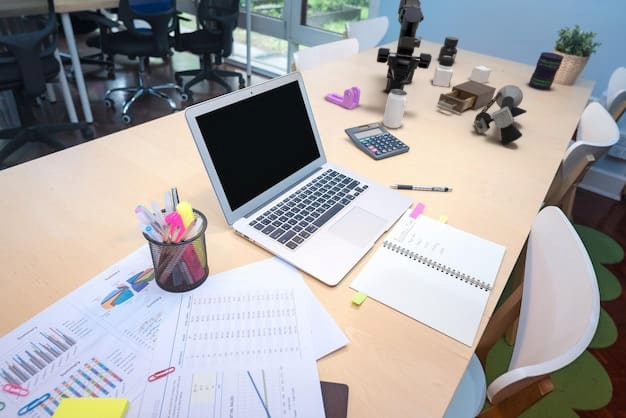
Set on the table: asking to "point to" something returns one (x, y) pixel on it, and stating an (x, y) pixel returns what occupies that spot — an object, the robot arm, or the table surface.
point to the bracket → (346, 98)
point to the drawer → (456, 100)
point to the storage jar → (545, 71)
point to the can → (395, 108)
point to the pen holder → (410, 77)
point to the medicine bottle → (443, 72)
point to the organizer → (477, 92)
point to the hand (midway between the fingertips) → (399, 80)
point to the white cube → (480, 74)
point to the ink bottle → (449, 48)
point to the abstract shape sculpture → (503, 113)
